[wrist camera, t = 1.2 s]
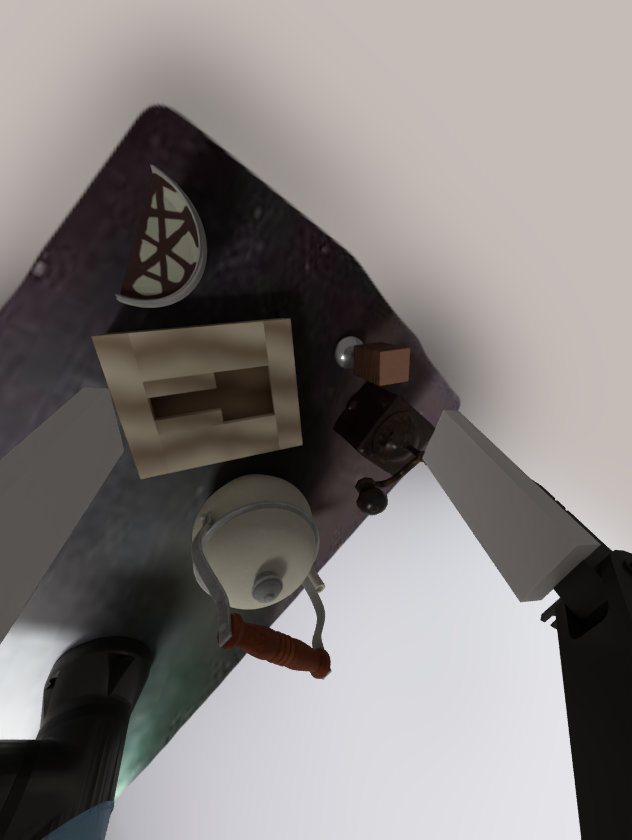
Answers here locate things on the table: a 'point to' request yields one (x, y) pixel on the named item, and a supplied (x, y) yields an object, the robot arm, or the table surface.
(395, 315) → the table surface
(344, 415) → the manual coffee grinder
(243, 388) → the keyhole plate
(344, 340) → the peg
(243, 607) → the kettle
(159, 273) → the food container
